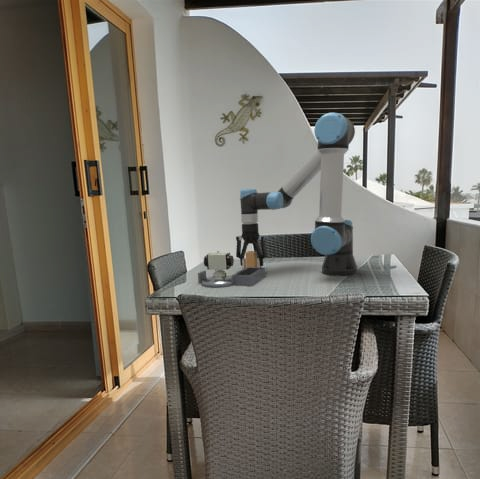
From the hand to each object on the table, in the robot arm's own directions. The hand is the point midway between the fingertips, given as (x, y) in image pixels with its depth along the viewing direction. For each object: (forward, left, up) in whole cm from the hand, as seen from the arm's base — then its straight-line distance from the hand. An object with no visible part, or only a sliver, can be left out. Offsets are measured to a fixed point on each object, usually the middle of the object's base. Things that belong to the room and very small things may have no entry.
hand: (252, 272), depth 164 cm
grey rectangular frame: (-4, +14, 0) cm, 15 cm away
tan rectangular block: (0, 0, 0) cm, 0 cm away
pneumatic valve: (+7, +19, +1) cm, 21 cm away
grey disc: (+7, +20, 0) cm, 21 cm away
